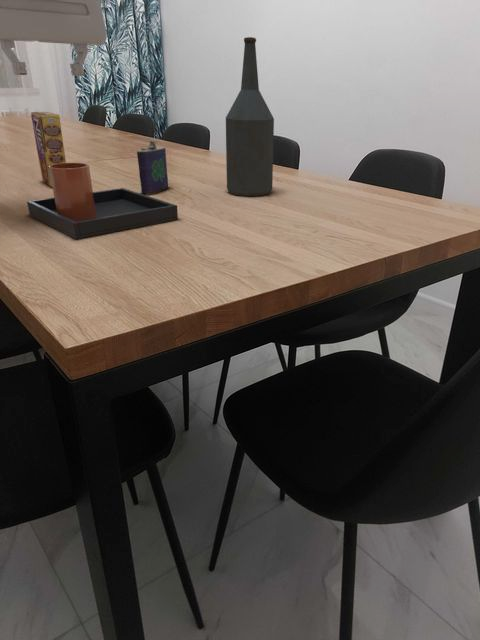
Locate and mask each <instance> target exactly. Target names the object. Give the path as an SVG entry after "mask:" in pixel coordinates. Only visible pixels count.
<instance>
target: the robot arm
mask: <svg viewBox="0 0 480 640" xmlns="http://www.w3.org/2000/svg"><path fill="white" fill-rule="evenodd" d="M104 19H105V17H104V15H103V11H102V0H0V49H1V50H2V52H3V53H4V55H5V57H7V59H8V61H10V63H11V66H12V71H13V74H14V75H15V76H27V75H28V71H27V69H26V68H27V64H26V62H25V61H20V59H19V58H18V57H17V55H16V54H15V52H14V50H15V49H16V44H15V42H28V43H29V42H31V43H48V44H64V45H73V50H74V52H75V53H77V54H76V57H75V60H74V63H69V66H70V67H69V68H70V74H71V75H72V76H73V77H84V76H85V72H84V63H85V62H86V58H87V55H88V53H89V50H88V46H103V45H104V44H105V43H106V41H107V30H106V24H105V20H104Z"/></svg>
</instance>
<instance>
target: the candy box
mask: <svg viewBox="0 0 480 640" xmlns="http://www.w3.org/2000/svg"><path fill="white" fill-rule="evenodd" d="M30 116H31V123H32V127H33V128H32V129H33V135H34V140H35V146H36V151H37V158H38V163H39V169H40V174H41V180H42V182H43V183H44V184H46V185H47V186H49V187H51V188H53V187H52V182H51V176H50V171H49V166H50V165H53V164H58V163H67V161H66V160H67V159H66V153H65V148H64V147H65V146H64V140H63V133H62V132H63V131H62V124H61V119H60V114H58V113H53V112H49V111H32V112H30Z"/></svg>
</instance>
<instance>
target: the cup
mask: <svg viewBox="0 0 480 640" xmlns="http://www.w3.org/2000/svg"><path fill="white" fill-rule="evenodd" d="M49 171H50V176H51V182H52V187H51V188H52V193H53V198H55V204H56V209H57V213H58V214H60V215H62V216H65V217H67V218H69V219H71V220H73V221H75V222H78V221H84V220H90V219H95V218H96V211H95V204H94V197H93V192H94V190H93V185H92V178H91V177H92V175H91V169H90V165H89V163H86V162H85V163H84V162H66V163H58V164H53V165H50V166H49Z"/></svg>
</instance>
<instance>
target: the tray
mask: <svg viewBox="0 0 480 640" xmlns="http://www.w3.org/2000/svg"><path fill="white" fill-rule="evenodd" d="M93 197H94V204H95V211H96V218H95V219H90V220H84V221H78V222H75V221H73V220H71V219H69V218H67V217H65V216H62V215H60V214H58V213H57V209H56V204H55V198H54V197H48V198H42V199H41V198H40V199H35V200H28V201H26V204H27V209H28V214H29V216H30V217H32V218H33V219H36V220H38V221H39V222H42V223H43V224H45V225H47V226H49V227H51V228H53V229H55V230H57V231H59V232H62V233H63V234H65V235H66V236H69V237H71V238H73V239H75V240H82V239H85V238H91V237H96V236H101V235H107V234H111V233H116V232H121V231H125V230H126V231H127V230H132V229H138V228H141V227H142V228H143V227H147V226H152V225H158V224H163V223H167V222H172V221H178V220H179V214H178V213H179V212H178V205H176V204H175V203H174V204H173V203H171V202H167V201H164V200H162V199H159V198H155V197H152V196H150V195H143V194H142V193H140V192H136V191H133V190H130V189H127V188H125V187H120V188H113V189H107V190H99V191H93Z"/></svg>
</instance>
